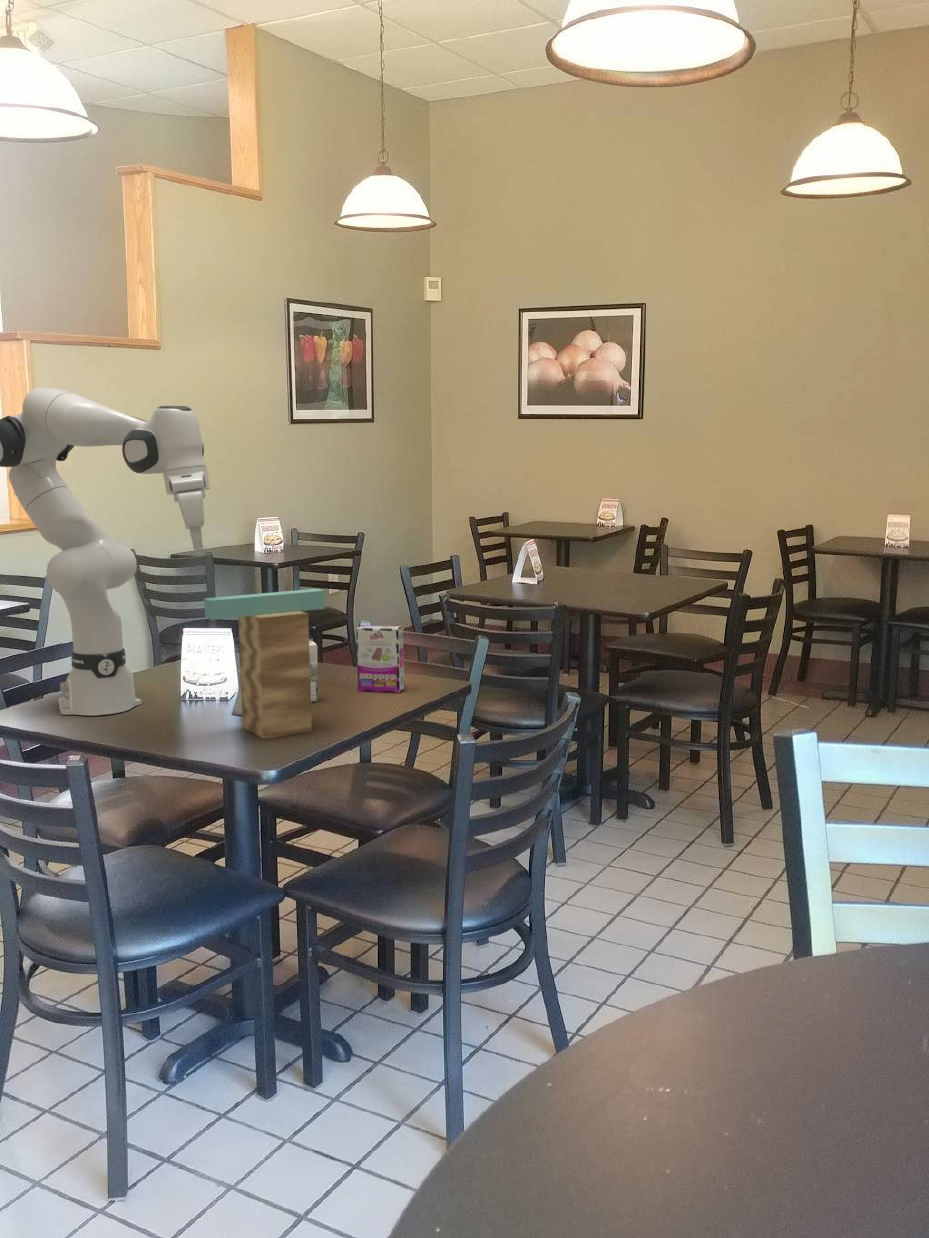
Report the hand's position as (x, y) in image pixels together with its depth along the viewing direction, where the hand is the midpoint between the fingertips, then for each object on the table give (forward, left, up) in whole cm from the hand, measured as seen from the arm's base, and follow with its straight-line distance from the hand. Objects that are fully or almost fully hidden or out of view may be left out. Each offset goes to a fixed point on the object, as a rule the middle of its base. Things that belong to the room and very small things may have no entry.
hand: (198, 550), depth 227 cm
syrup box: (-19, +32, -40) cm, 55 cm away
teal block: (+2, +14, -14) cm, 20 cm away
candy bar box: (-18, +53, -41) cm, 69 cm away
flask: (-16, +16, -41) cm, 46 cm away
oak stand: (+2, +15, -40) cm, 43 cm away
